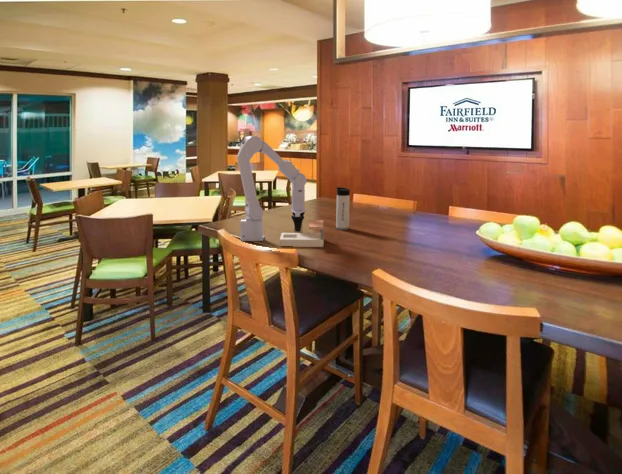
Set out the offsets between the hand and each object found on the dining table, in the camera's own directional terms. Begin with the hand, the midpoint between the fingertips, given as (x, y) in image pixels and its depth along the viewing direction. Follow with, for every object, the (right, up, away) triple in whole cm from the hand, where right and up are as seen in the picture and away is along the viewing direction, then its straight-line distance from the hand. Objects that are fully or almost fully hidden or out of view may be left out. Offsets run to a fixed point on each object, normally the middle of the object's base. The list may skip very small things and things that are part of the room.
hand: (298, 229), depth 194 cm
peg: (0, -3, +1) cm, 3 cm away
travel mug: (+21, 0, +15) cm, 26 cm away
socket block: (+2, -6, -12) cm, 13 cm away
